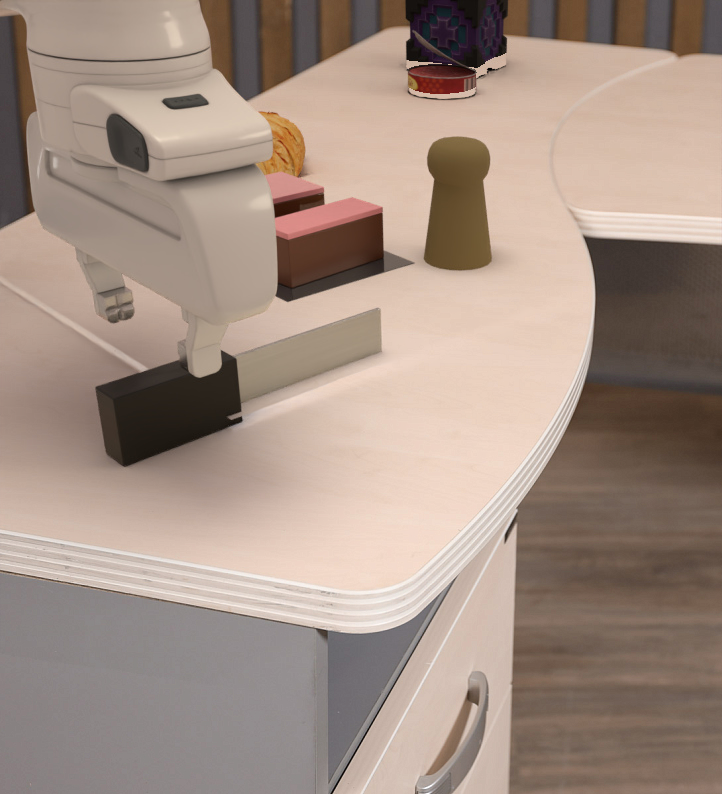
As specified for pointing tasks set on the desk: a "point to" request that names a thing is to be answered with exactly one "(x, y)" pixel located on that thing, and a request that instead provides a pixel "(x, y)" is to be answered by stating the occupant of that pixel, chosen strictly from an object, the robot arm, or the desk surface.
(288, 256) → the cake slice
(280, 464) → the desk surface
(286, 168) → the croissant
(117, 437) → the knife
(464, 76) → the canned food
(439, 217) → the cork
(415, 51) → the energy cube
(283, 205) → the cake
